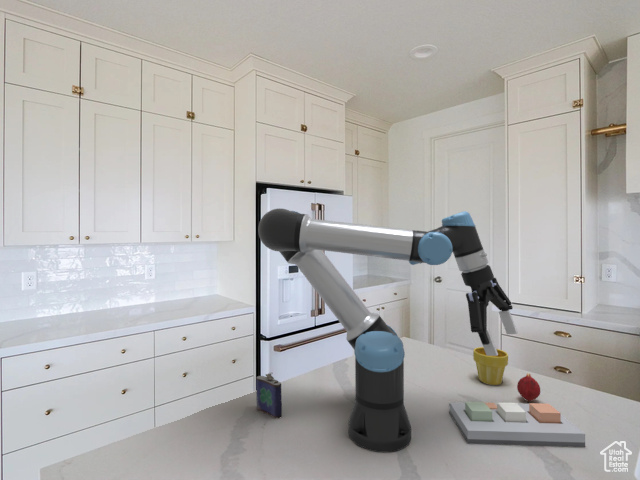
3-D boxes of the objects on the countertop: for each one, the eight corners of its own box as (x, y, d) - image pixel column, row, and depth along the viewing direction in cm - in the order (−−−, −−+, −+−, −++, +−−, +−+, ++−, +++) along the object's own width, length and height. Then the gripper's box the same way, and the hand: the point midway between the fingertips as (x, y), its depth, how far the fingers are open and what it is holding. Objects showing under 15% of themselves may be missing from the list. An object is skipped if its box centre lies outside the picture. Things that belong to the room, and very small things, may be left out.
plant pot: (509, 378, 117) (509, 349, 117) (506, 390, 108) (506, 359, 108) (475, 372, 123) (475, 344, 123) (470, 383, 114) (470, 353, 114)
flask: (254, 408, 98) (254, 370, 98) (262, 405, 100) (262, 367, 100) (277, 419, 92) (277, 379, 92) (285, 415, 94) (285, 375, 94)
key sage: (472, 423, 85) (472, 410, 85) (465, 413, 90) (465, 401, 90) (492, 423, 85) (492, 411, 85) (484, 413, 90) (484, 402, 90)
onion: (544, 406, 98) (544, 378, 98) (521, 405, 99) (521, 376, 99) (535, 397, 104) (535, 370, 103) (514, 395, 105) (514, 369, 105)
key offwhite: (505, 424, 85) (505, 411, 85) (496, 414, 90) (496, 402, 89) (526, 424, 84) (526, 412, 84) (516, 414, 89) (516, 402, 89)
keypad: (467, 443, 81) (467, 429, 81) (449, 412, 95) (449, 400, 95) (585, 446, 79) (585, 432, 79) (548, 415, 93) (548, 403, 93)
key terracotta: (539, 425, 84) (539, 412, 84) (529, 414, 89) (529, 403, 89) (560, 425, 84) (560, 413, 84) (548, 415, 89) (548, 403, 89)
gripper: (466, 279, 83) (498, 365, 82) (506, 253, 99) (533, 324, 98) (439, 284, 88) (468, 364, 87) (481, 259, 105) (506, 326, 104)
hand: (502, 344), depth 93 cm, fingers open, 13 cm apart
